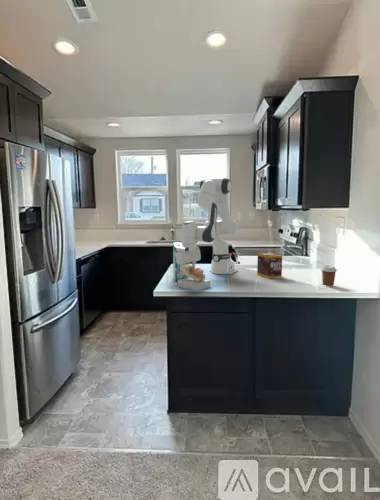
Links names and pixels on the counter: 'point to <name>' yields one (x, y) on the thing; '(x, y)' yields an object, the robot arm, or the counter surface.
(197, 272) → the salmon pink cube
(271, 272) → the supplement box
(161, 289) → the counter surface
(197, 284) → the block
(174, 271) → the milk carton
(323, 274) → the coffee cup
